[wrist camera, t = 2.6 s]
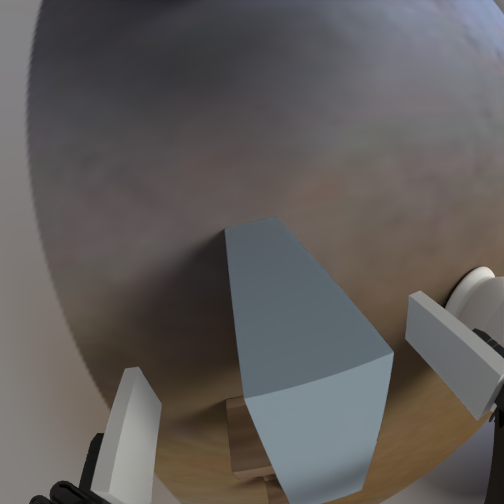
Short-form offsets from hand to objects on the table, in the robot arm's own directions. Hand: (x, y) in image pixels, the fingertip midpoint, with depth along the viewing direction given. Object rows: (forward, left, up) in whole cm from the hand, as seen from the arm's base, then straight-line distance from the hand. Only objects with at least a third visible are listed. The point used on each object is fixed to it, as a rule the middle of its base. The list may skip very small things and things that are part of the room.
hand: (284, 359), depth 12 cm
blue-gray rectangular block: (0, 0, -6) cm, 6 cm away
